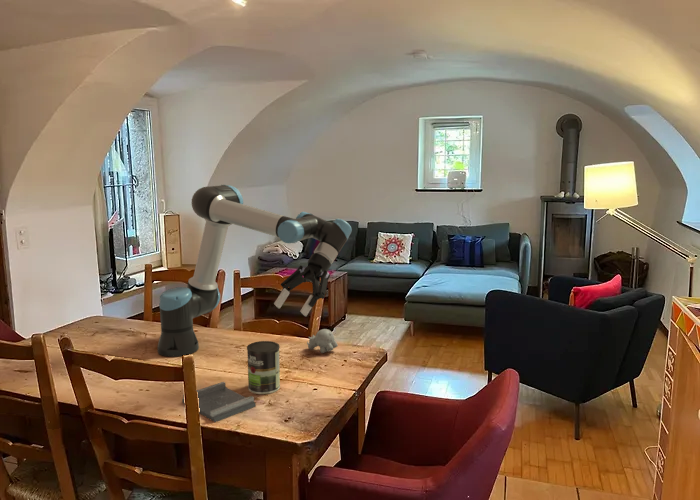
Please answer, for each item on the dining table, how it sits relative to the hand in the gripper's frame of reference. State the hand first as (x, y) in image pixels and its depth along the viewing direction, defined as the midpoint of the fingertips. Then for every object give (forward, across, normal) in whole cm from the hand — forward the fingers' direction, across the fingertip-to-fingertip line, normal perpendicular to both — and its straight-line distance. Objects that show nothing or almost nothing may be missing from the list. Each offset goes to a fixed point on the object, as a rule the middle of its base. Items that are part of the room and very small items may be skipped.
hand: (289, 310), depth 182 cm
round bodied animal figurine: (-1, +13, -35) cm, 37 cm away
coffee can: (+25, 0, -9) cm, 26 cm away
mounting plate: (+36, 0, +3) cm, 37 cm away
